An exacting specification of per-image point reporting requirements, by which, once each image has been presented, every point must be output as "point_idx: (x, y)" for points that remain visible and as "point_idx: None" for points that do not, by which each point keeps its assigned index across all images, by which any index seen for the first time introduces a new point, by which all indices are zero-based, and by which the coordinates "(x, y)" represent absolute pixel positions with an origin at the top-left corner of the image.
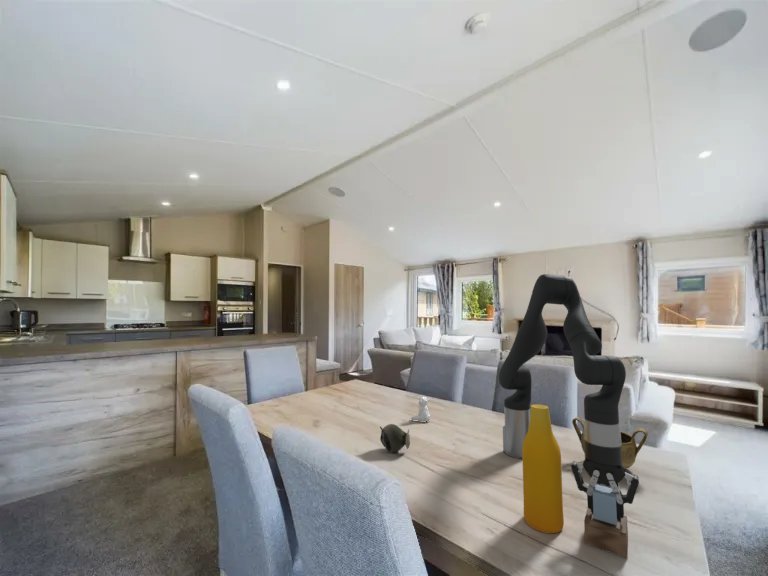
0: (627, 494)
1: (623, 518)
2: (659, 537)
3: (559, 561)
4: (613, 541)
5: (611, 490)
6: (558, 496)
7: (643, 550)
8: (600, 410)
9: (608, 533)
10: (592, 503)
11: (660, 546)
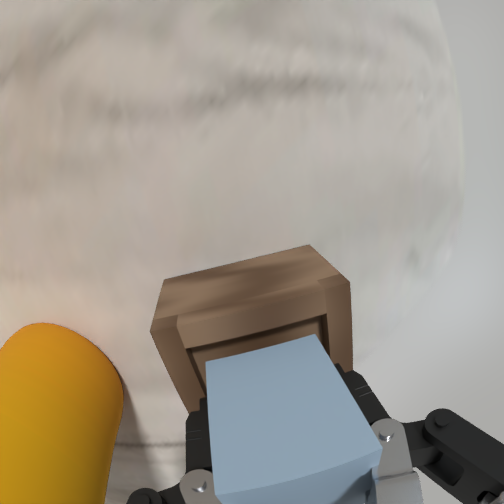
0: (436, 475)
1: (337, 318)
2: (391, 136)
3: None
4: None
5: (348, 477)
6: (104, 496)
7: (358, 276)
8: None
9: None
10: None
11: (398, 202)
